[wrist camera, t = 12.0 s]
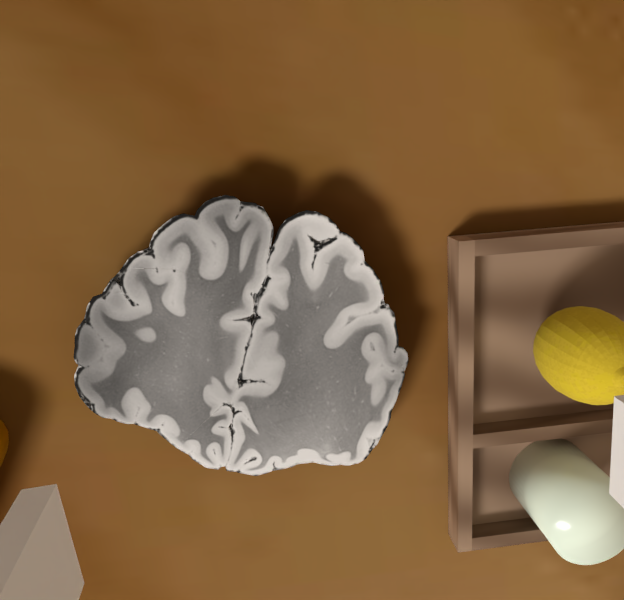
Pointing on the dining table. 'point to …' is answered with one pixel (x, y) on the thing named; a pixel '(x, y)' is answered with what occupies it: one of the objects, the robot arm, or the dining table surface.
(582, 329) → the lemon
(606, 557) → the white capsule pill
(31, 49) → the dining table surface
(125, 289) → the brain slice
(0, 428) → the element tile
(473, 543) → the organizer
